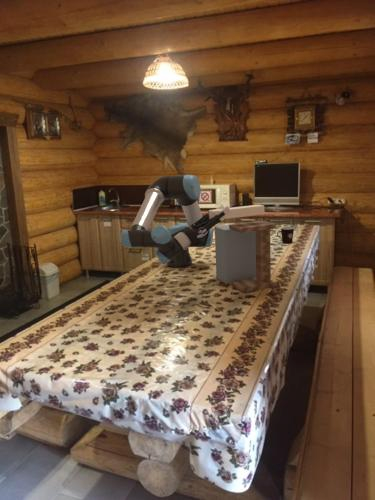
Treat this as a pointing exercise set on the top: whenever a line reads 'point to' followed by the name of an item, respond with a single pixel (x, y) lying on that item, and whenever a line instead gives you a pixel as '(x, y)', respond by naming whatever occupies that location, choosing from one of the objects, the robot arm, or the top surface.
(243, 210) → the pale wooden bar
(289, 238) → the coffee mug
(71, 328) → the top surface
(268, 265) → the walnut stand
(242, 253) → the slate podium
